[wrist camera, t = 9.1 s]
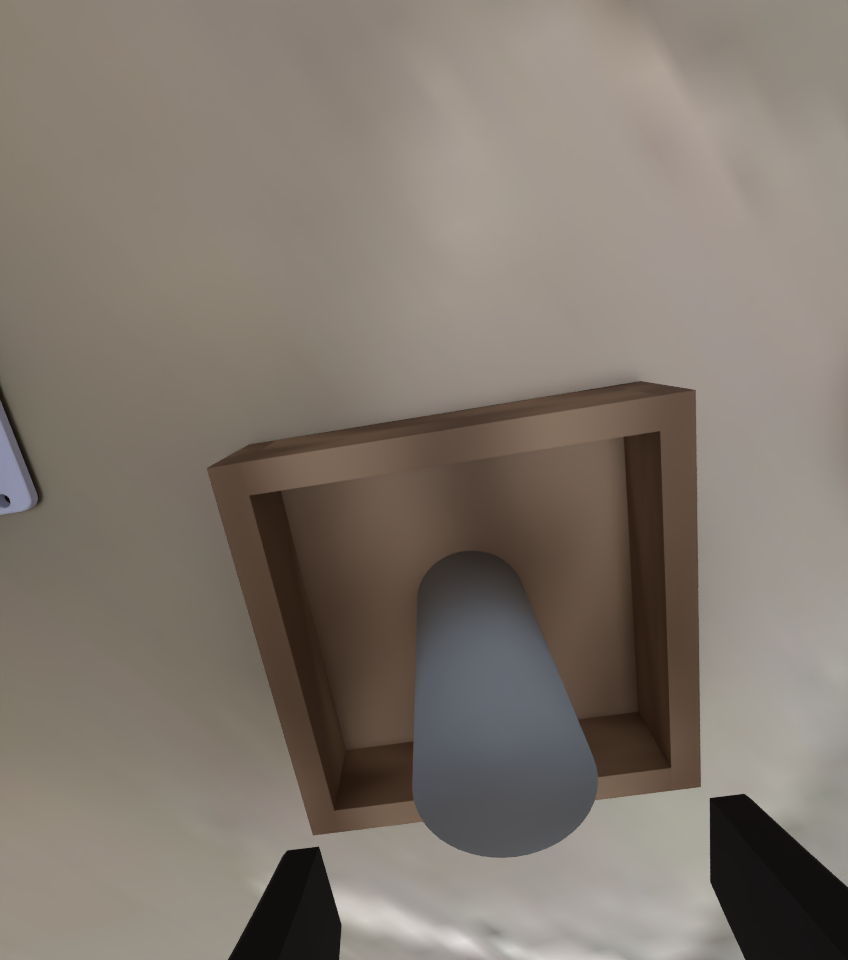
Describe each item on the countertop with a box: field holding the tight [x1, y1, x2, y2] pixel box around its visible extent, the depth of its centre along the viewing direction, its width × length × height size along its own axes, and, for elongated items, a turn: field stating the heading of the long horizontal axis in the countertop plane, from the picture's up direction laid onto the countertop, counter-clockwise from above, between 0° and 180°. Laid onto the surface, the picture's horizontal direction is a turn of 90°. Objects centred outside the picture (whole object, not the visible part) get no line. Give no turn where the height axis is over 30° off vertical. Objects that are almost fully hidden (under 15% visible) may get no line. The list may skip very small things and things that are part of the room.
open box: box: [207, 381, 701, 835], centre depth 17 cm, size 14×14×4 cm
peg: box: [412, 551, 598, 858], centre depth 14 cm, size 4×4×8 cm
